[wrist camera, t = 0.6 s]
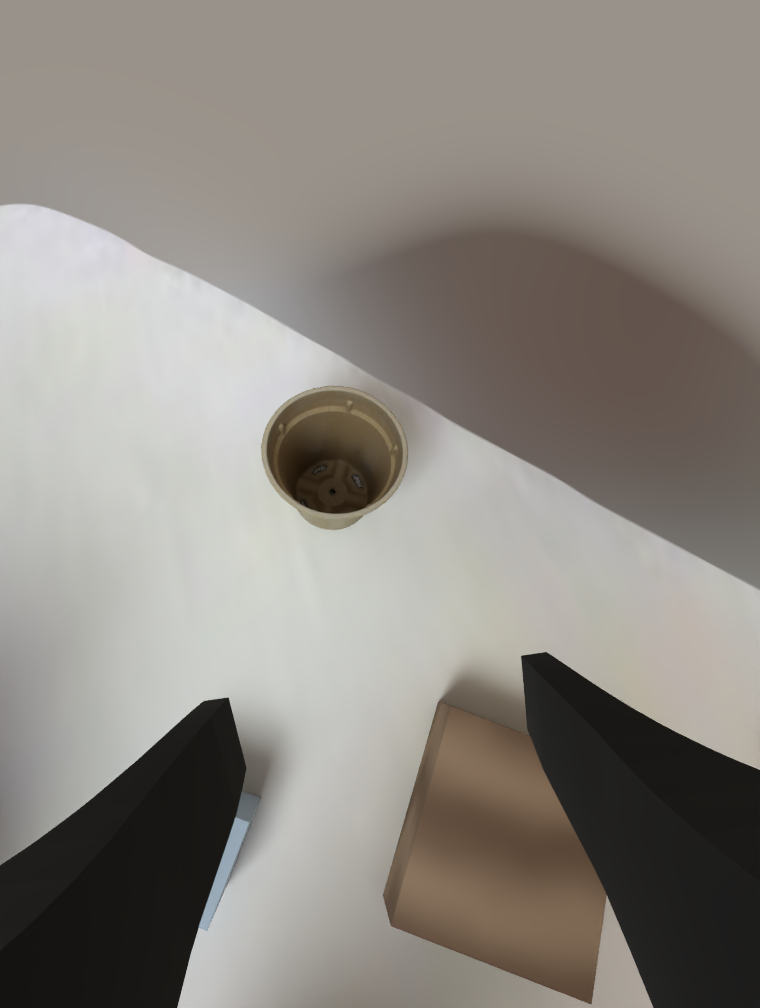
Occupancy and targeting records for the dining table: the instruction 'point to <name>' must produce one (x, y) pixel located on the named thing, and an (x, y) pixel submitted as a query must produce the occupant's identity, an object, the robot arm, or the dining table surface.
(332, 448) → the flower pot
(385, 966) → the dining table surface
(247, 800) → the slate cube
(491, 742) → the walnut base block
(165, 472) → the dining table surface
